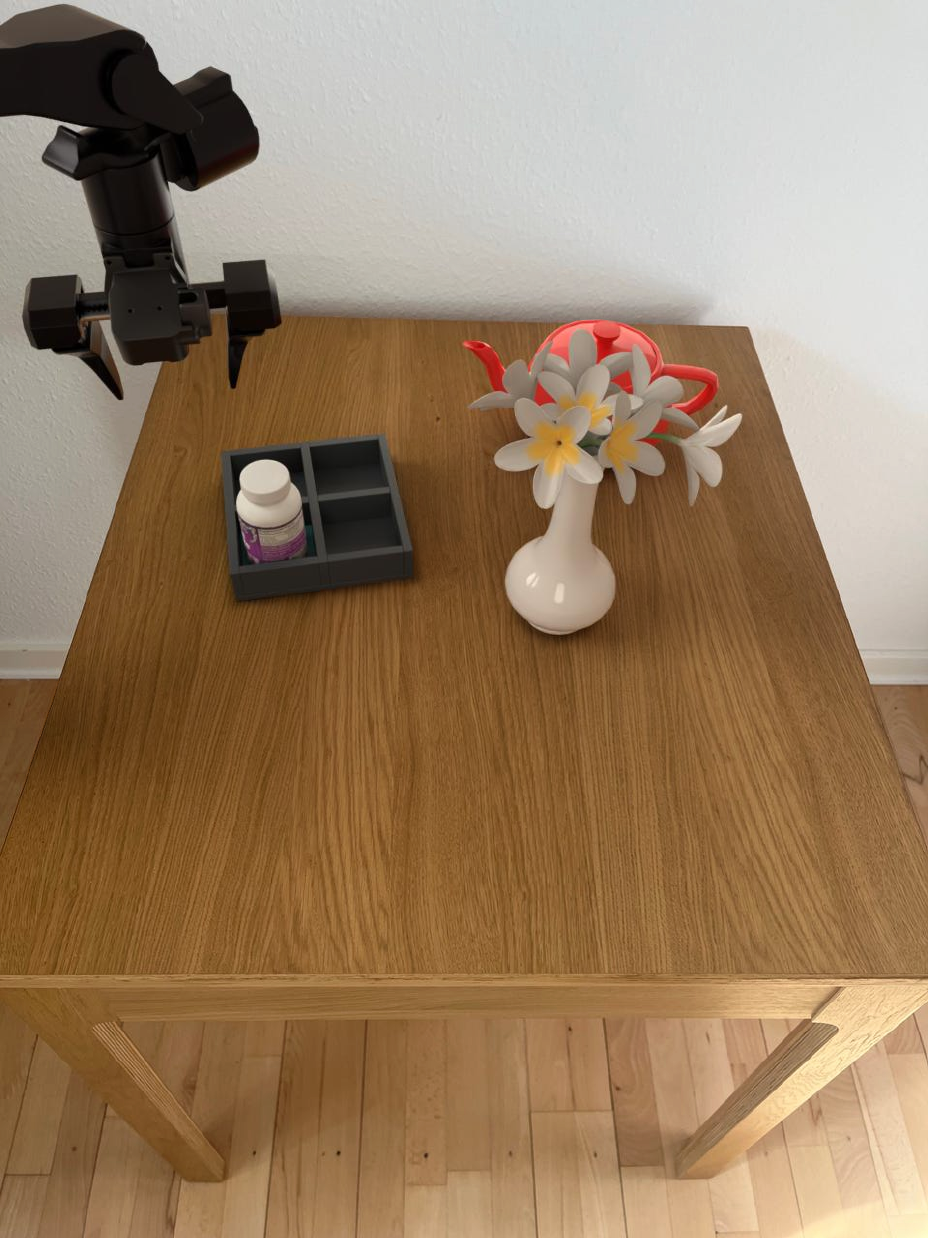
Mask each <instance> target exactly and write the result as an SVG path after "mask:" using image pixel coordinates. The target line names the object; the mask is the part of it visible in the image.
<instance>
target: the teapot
mask: <svg viewBox="0 0 928 1238" xmlns="http://www.w3.org/2000/svg"><path fill="white" fill-rule="evenodd" d="M577 329H585V330H587V331H588V332H590V334H591V335H592V336H593V338H594V340H595V342H596V347H597V362H596V364H599V363H600V361H601V360H602V359H604V358H605V357H607V356H610V355H612V354H615V353H620V352H630V353H633V350H632V348H633V344H635V345H637V346H638V347H639V348H640V349H641V351H642V352H643V354H644V355H645V357H646V359H647V361H648V364H649V367H650V371H651V380H650V382H649V385H650V384H651V383H653V381H655V380H656V379H658V378H660V377H663V376H671V377H673V378H675V379H677V380H678V379H680V380H689V381H695V382H700V383H702V384H706V385H705V386H704V388H703V389H702V390H701V391H700V392H698V394H697V395H696V396H694V397H693V398H691V399H689V400H688V401H686V402H684V403H682V402H681V403H673V404H671V405H669V406H667V407H666V408H676V409H679V410H681V411H682V412H684V413H685V414H687V415H688V416H689V417H690V416H692V415H693V414H695V413H697V412H700V411H701V410H703V409H704V408H706V407H707V405H709V404H710V403H711V402H712V401H713V400H714V398H715V396H716V394H717V392H718V390H719V389H720V388H719V387H720V382H719V377H718V375H717V374H716V373H715V372H713V371H712V370H709V369H707V368H705V367H698V366H692V365H686V364H685V365H683V364H672V363H664V361H663V356H662V353H661V351H660V348H659V347H658V345H657V344H656V342H654V341H653V339H651V338H650V337H649V336H648V335H646V334H645V333H644V332H643V331H641V330H638V329H636V328H634V327H632V326H631V325H628V324H625V323H622V322H618V321H617V322H616V321H611V320H606V319H584V320H580V319H579V320H576V321H573V322H570V323H567V324H563V325H560V326H559V327H558V328H557V329H555V330H554V331H552V333H551V334H549V335H548V336H547V337H546V339H544V341H543V342H542V344H541V345H540V346H539V348H538V350H537V351H536V352H535V354H534V355H536V354H538V353H539V352H540V351H541V350H542V349H543V348H544V347H545V346H546V345H547V344H548V343H549V342H550V341H552V340H553V344H552V346H551V348H550V351H549V353H551V354H554V355H557V356H559V357H561V358H563V359H564V360H565V361H566V362H567V364H568V366H569V341H570V338H571V335H572V334H573V332H575V331H576V330H577ZM461 344H462V345H463V346H464V347H465V348H466V349H468V350H470V351H471V352H472V354H474V355H475V356H476V358H477V359H479V360H480V361H481V362H482V364H483V365H484V366H485V369H486V372H487V375H488V378H489V382H490V386H491V387H492V389H493V392H496V391H502V392H505V393H507V394H509V393H508V392H507V391H506V389H505V388H504V386H503V383H502V378H503V375H504V372H505V371H506V368H505V367H504V366H503V365H502V363H501V360H500V358H499V356H498V353H496V352H495V350H494V349H493V348H492V347H491V345H490V344H488V343H486V342H482V341H477V340H465V341H464V342H462V343H461ZM533 359H534V356H533V357H532V359H531V360H530V362H529V364H528V365H527V369H528V372H530V368H531V365H532V363H533V361H534V360H533ZM569 368H570V366H569ZM633 368H634V366H633ZM542 371H544V370H543V369H542ZM610 382H613V383H615V384H617V385H619V386H620V387H621V388H622V390H623V391H625V392H626V393H627V394H631V395H633V384H632V380H631V376H630V372H629V370H627V371H626V372H624V373H622V374H621V375H619V376H617V377H615V378H613V379H612V380H611V381H610ZM649 385H648V386H649ZM604 400H605V399H603V401H604ZM534 401H535V403H536V404H537V405H538V406H542V405H544V404H547V403H555V404H557V403H556V402H555V400H554V399H553V398H552V397H551V396H550V395H549V394H548V393H547V391H546V390H545V389H544V388H543V387H542V386H541V384H540V383H539V381H538V384H537V388H536V392H535V399H534ZM603 401H602V402H603ZM511 409H512V410H514V411H515V408H511ZM663 409H665V408H663ZM608 419H609V420H610V422H612V417H610V418H608ZM670 423H671V422H669V421H666V420H662V419H659V421H658V423H657V425H656V426H655V428H654V429H653V430H652V432H657V433H663V434H667V432H668V430H669V426H670ZM529 438H534V437H531V436H529ZM635 441H641V442H646V443H648V444H650V445H652V446H654V447H655V448H656V446H657V445H658V444H659V443H660V442H661V441H662V440H660V439H639V440H635Z"/></svg>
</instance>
